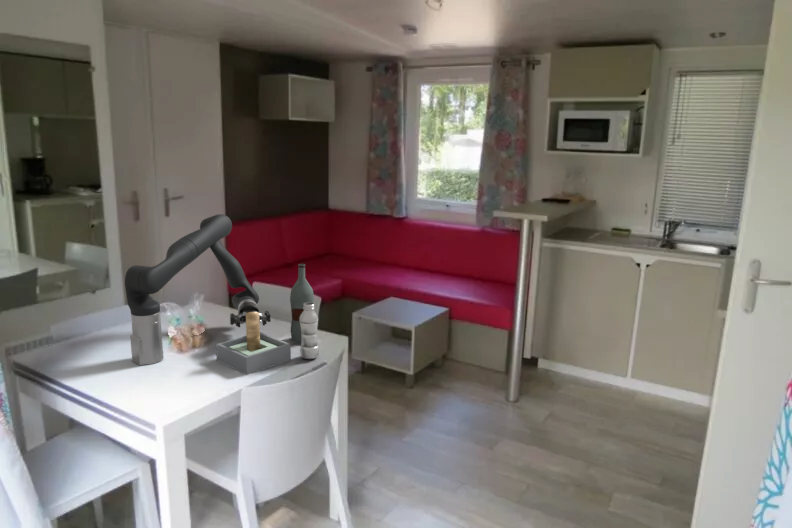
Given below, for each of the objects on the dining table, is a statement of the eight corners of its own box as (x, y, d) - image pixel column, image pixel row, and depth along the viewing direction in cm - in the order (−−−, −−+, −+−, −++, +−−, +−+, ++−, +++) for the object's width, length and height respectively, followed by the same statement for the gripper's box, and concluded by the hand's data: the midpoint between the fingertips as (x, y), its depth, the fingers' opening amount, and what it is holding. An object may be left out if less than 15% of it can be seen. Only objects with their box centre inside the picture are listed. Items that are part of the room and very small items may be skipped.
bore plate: (249, 367, 190) (249, 355, 189) (229, 357, 197) (228, 346, 197) (278, 357, 199) (278, 346, 198) (258, 348, 206) (257, 338, 205)
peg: (252, 360, 195) (250, 316, 192) (244, 357, 198) (243, 313, 194) (263, 357, 198) (261, 313, 195) (255, 354, 201) (254, 311, 198)
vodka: (297, 335, 225) (295, 261, 218) (318, 337, 222) (317, 263, 216) (286, 342, 216) (284, 266, 210) (308, 345, 214) (307, 268, 207)
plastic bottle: (315, 362, 198) (315, 307, 194) (297, 360, 199) (296, 305, 195) (321, 355, 204) (321, 302, 200) (303, 353, 205) (303, 300, 201)
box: (247, 374, 186) (246, 357, 185) (217, 360, 197) (216, 344, 196) (290, 360, 199) (290, 344, 198) (260, 347, 211) (259, 332, 209)
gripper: (228, 302, 213) (230, 315, 198) (267, 300, 218) (271, 312, 203) (229, 321, 215) (231, 335, 200) (267, 318, 219) (272, 332, 204)
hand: (251, 323), depth 201 cm, fingers open, 8 cm apart
